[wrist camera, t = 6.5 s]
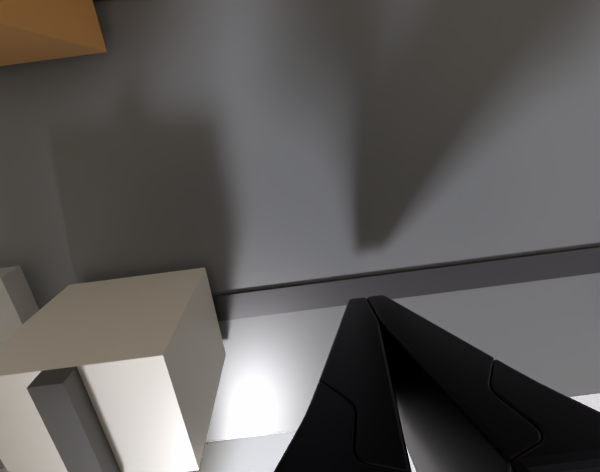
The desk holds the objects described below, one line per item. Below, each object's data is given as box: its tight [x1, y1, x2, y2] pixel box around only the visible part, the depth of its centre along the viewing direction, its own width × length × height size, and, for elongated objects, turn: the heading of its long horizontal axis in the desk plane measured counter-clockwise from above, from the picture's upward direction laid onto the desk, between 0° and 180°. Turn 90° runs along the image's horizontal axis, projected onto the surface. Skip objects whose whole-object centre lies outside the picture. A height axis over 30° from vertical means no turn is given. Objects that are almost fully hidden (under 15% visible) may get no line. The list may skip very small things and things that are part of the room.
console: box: [0, 0, 600, 468], centre depth 9 cm, size 18×24×3 cm
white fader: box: [0, 267, 226, 472], centre depth 8 cm, size 3×4×4 cm
